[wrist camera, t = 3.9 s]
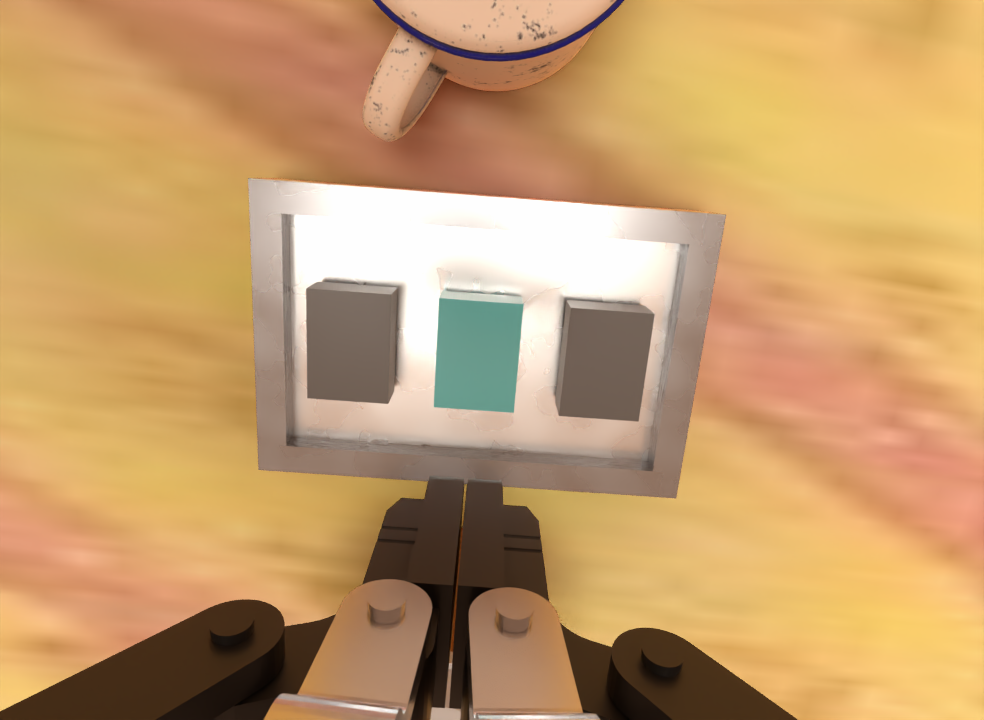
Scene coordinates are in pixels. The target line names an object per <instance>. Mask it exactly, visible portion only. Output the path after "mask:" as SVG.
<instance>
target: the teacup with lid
mask: <svg viewBox="0 0 984 720" xmlns="http://www.w3.org/2000/svg"><path fill="white" fill-rule="evenodd" d="M373 1H374V2H375V3H376V4H377V6H378V7H379V8H380V9H381V10H382V11H383V12H384V13H385V14H386V15H387V16H388V17H389V18H391V19H392V20H393V21H394V22H395V23H396V25H397V26H398V30H397V32H396V34H395V36H394V37H393V39H392V41H391V43H390V45H389V47H388V48H387V50H386V52H385V54H384V56H383V58H382V60H381V62H380V64H379V66H378V68H377V70H376V72H375V74H374V76H373V79H372V81H371V84H370V86H369V89H368V92H367V95H366V98H365V102H364V106H363V114H362V115H363V122H364V125H365V127H366V128H367V129H368V130H369V131H370V132H371V133H372V134H374V135H376V136H377V137H379V138H380V139H382V140H384V141H387V142H393V141H396V140H398V139H400V138H401V137H403V136H404V135H405V134H406V133H407V132H408V131H409V130H410V129H411V128H412V127H413V126H414V124H415V123H416V122H417V121H418V119H419V118H420V117H421V115H422V114H423V112H424V111H425V109H426V108H427V106H428V105H429V103H430V102H431V100H432V98H433V97H434V95H435V93H436V92H437V90H438V88H439V87H440V85H441V83H442V82H443V80H444V78H445V77H446V78H447V79H449V80H451V81H453V82H456V83H458V84H461V85H463V86H466V87H469V88H474V89H478V90H485V91H510V90H515V89H521V88H524V87H527V86H531V85H533V84H536V83H538V82H540V81H542V80H544V79H546V78H548V77H550V76H551V75H553V74H554V73H556V72H557V71H559V70H560V69H561V68H563V67H564V66H565V65H566V64H567V63H569V62H570V61H571V60H572V59H573V58H574V57H575V56H576V55H577V53H578V52H579V51H580V50H581V48H582V47H583V46H584V45H585V43H586V42H587V40H588V39H589V37H590V36H591V34H592V33H593V31H594V30H595V29H596V27H597V26H598V25H599V24H600V23H602V22H603V21H604V20H605V19H606V18H608V17H609V16H610V15H611V14H612V13H613V12H614V11H615V10H616V9H617V8H618V7H619V6H620V5H621V3H622V2H623V1H624V0H373Z"/></svg>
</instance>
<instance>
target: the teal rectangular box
mask: <svg viewBox="0 0 984 720" xmlns="http://www.w3.org/2000/svg"><path fill="white" fill-rule="evenodd" d="M523 306H524V304H523V300H522V297H521V296H508V295H494V294H481V293H467V292H454V291H442V293H441V295H440V297H439V309H438V329H437V349H436V369H435V388H434V407H438V408H452V409H466V410H481V411H495V412H509V413H514V406H515V395H516V384H517V372H518V361H519V350H520V339H521V328H522V317H523Z"/></svg>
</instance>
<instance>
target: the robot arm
mask: <svg viewBox="0 0 984 720" xmlns="http://www.w3.org/2000/svg"><path fill="white" fill-rule="evenodd" d="M464 479H465V478H453V477H439V476H430V477H429V481H428V485H427V490H426V494H425V499H410V498H401V499H400V500H399V501H397V502H396V503H395V504H394V505H393V506H392V507H390V508H389V509H388V510H387V512H386V515H385V518H384V521H383V524H382V529H381V530H380V533H379V536H378V540H377V542H376V545H375V548H374V551H373V554H372V557H371V560H370V563H369V566H368V569H367V572H366V575H365V578H364V581H363V584H362V585H360V586H359V587H357V588H355V589H354V590H352V591H351V592H350V593H349V594H348V595H347V596H346V597H345V598H344V600H343V602H342V603H341V605H340V608H339V610H338V612H337V614H335V615H333V616H331V617H329V618H326V619H322V620H319V621H314V622H310V623H303V624H297V625H291V626H284V619H283V616H282V614H281V612H280V611H279V610H278V609H277V608H275V607H274V606H272V605H271V604H268V603H266V602H262V601H258V600H234V601H229V602H224V603H221V604H218V605H215V606H213V607H210V608H208V609H206V610H204V611H202V612H200V613H198V614H196V615H194V616H192V617H190V618H188V619H186V620H184V621H182V622H180V623H178V624H176V625H174V626H172V627H170V628H168V629H166V630H164V631H162V632H160V633H158V634H156V635H154V636H152V637H150V638H148V639H146V640H144V641H141V642H139V643H137V644H135V645H133V646H131V647H129V648H127V649H125V650H123V651H121V652H119V653H117V654H115V655H113V656H111V657H109V658H107V659H105V660H103V661H101V662H99V663H97V664H95V665H93V666H91V667H89V668H87V669H85V670H83V671H81V672H79V673H77V674H75V675H73V676H71V677H69V678H67V679H65V680H63V681H61V682H59V683H57V684H55V685H53V686H51V687H49V688H47V689H45V690H43V691H41V692H39V693H37V694H35V695H33V696H31V697H29V698H27V699H25V700H23V701H20V702H18V703H16V704H14V705H12V706H10V707H8V708H6V709H4V710H2V711H0V720H430V719H431V711H432V707H434V708H445V702H446V691H447V681H448V670H449V660H450V649H451V639H452V629H453V618H454V608H455V597H456V587H457V576H458V565H459V552H460V538H461V524H462V510H463V495H464ZM540 537H541V536H540V529H539V521H538V520H537V519H536V517H535V516H534V515H533V514H532V513H531V511H530V510H529V509H528V508H527V507H525V506H510V505H503V487H502V481H497V480H483V479H469V478H468V480H467V491H466V501H465V512H464V523H463V534H462V544H461V555H460V566H459V577H458V588H457V602H456V616H455V631H454V645H453V659H452V673H451V687H450V702H449V708H453V709H461V717H460V720H797V719H796V718H795V717H793V716H792V715H790V714H789V713H788V712H786V711H785V710H783V709H782V708H781V707H779V706H778V705H776V704H775V703H774V702H772V701H771V700H769V699H768V698H767V697H765V696H764V695H762V694H761V693H760V692H758V691H757V690H755V689H754V688H753V687H751V686H750V685H748V684H747V683H746V682H744V681H743V680H741V679H740V678H739V677H737V676H736V675H734V674H733V673H732V672H730V671H729V670H727V669H726V668H725V667H723V666H722V665H720V664H719V663H718V662H716V661H715V660H713V659H712V658H711V657H709V656H708V655H706V654H705V653H703V652H702V651H701V650H699V649H698V648H696V647H695V646H694V645H692V644H691V643H689V642H688V641H686V640H685V639H683V638H681V637H679V636H677V635H675V634H673V633H670V632H667V631H664V630H660V629H654V628H636V629H632V630H628V631H626V632H624V633H622V634H621V635H620V636H618V638H617V639H616V640H615V641H614V644H613V646H612V647H609V646H606V645H603V644H600V643H597V642H593V641H590V640H588V639H585V638H582V637H580V636H578V635H576V634H574V633H573V632H571V631H570V630H568V629H567V628H566V627H564V626H563V625H562V624H561V623H560V621H559V617H558V614H557V612H556V610H555V608H554V607H553V606H552V605H551V604H550V602H549V599H548V591H547V583H546V575H545V568H544V560H543V553H542V544H541V540H540Z"/></svg>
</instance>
